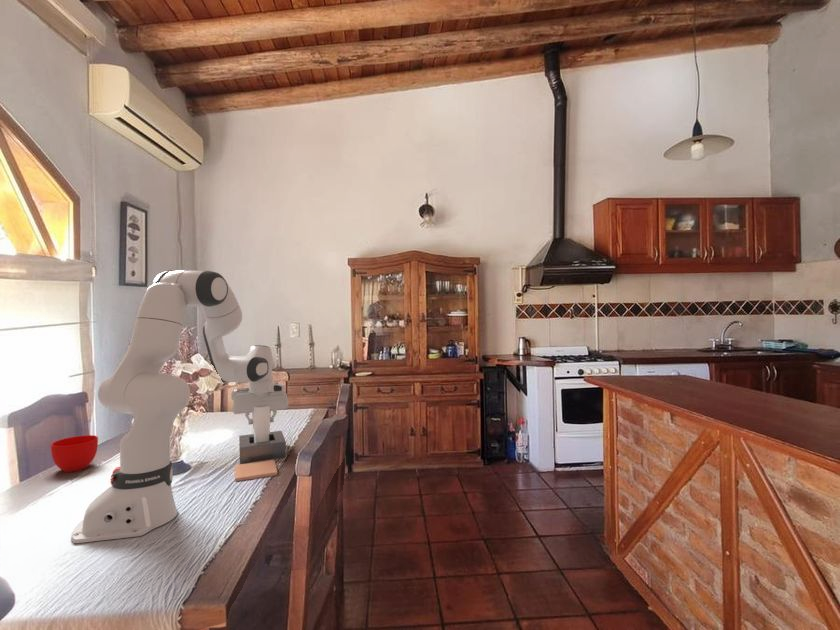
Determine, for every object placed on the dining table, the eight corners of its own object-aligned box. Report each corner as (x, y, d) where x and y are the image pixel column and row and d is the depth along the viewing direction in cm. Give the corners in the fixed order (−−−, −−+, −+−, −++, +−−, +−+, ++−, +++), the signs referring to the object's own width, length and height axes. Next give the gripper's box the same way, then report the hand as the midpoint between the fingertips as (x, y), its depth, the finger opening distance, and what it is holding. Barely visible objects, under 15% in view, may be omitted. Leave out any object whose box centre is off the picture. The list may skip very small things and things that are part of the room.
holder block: (239, 464, 152) (239, 447, 152) (239, 450, 167) (239, 435, 167) (286, 457, 159) (285, 441, 159) (281, 445, 173) (281, 430, 173)
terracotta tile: (235, 481, 137) (235, 478, 137) (235, 467, 149) (235, 465, 149) (277, 474, 142) (277, 471, 142) (274, 462, 154) (274, 459, 154)
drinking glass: (248, 445, 161) (248, 406, 161) (262, 440, 167) (262, 403, 167) (260, 448, 158) (260, 408, 158) (274, 443, 164) (274, 404, 164)
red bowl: (107, 456, 162) (107, 430, 162) (90, 472, 146) (89, 443, 146) (66, 461, 157) (65, 434, 157) (43, 478, 141) (43, 448, 141)
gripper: (231, 390, 156) (231, 428, 155) (289, 386, 164) (289, 422, 164) (231, 387, 161) (231, 424, 161) (287, 384, 169) (287, 418, 169)
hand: (261, 423), depth 163 cm, fingers closed on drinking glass, 6 cm apart
